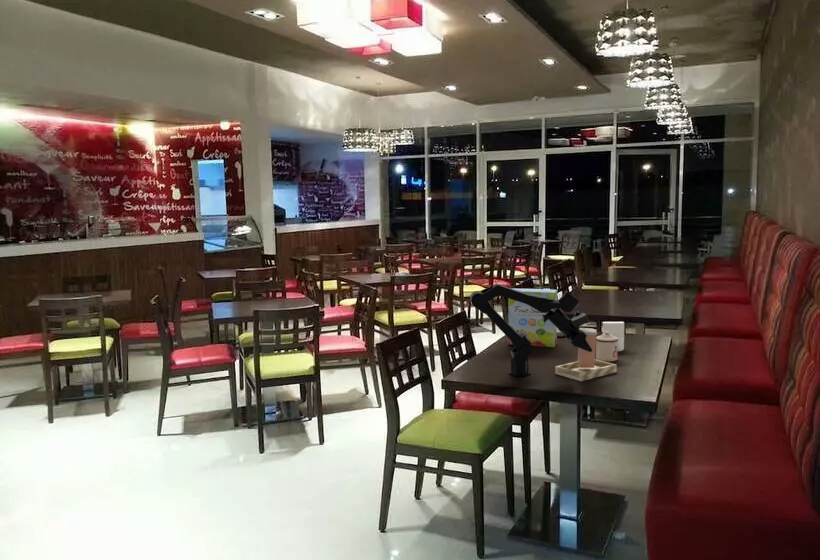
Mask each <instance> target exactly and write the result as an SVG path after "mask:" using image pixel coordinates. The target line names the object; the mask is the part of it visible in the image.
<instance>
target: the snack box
mask: <svg viewBox="0 0 820 560" xmlns="http://www.w3.org/2000/svg"><path fill="white" fill-rule="evenodd" d="M511 289H514V290H517V291H520V292H523V293H526V294H531V295H540V296H545V297H547V298H548V299H552V300H557V301H558V289H550V288H549V289H545V288H544V289H543V288H516V287H515V288H514V287H513V288H511ZM507 303H508V307H507V308H508V315H507V316H508V317H507V318H508V319H507V320H508V322H507V323H508V324H509V325H510V326H511V327H512V328H513V329H514V330H515V332H517V333H518V334H520V335H521V334H522V332H523V334H524V335H525V337H527V338H528V339H530V341H531V342H532V344H531V345H532V347H541V348H542V347H545V348H555V347H556V345H557V339H558V336H557V327H556V326H555V325H554V324H552V323H551V322H550V321H549V320H547V321H546V322H544V321H543V320H542V319H543V316H542V314H546V313H542V312H540V311H538V310H536V309H534V308H533V307H531V306H529V305H527V304H525V303H522V302H519V301H515V300H512V299H509V298H508V302H507ZM551 310H553V309H551ZM507 338H508V337H507ZM507 341H508V343H507V345H512V346H514V345H513V343H512V342H511V340H510V339H509V338H508V340H507Z"/></svg>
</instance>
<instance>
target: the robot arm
mask: <svg viewBox="0 0 820 560" xmlns="http://www.w3.org/2000/svg"><path fill="white" fill-rule="evenodd" d="M499 296H501V297H504V298H507V299H508V300H509V299H512V300H515V301H519V302H522V303H525V304H527V305H529V306H531V307H533V308H534V309H536V310H538V311H540V312H542V313H546V314H542V316H543V319H542V320H543V321H544V322H546V321H547V320H549V321H550V322H551V323H552V324H554V325H555V326H556V327H557V328H558V329H559V330H560V331H561V332H562V333H563V334H564V336H563V337H565V338H566V339H568V340H569V342H570V344H572V345H573V347H575V348H576V347H577V348H581V349H584V350H586V351H589V352H591V351H592V349H591V347H590V346H589V344H588V343H587V341H586V336H587V335H586V334H585V333H584V332H583V331H582V330H578V329H579V328H580V327H581V326H583V325H585V324H589V323H590V320H589V318H588V315H587V314H586V313H584V312H581V313H580V312H579V311H575V312H574V316H573V317H572V318H570V317H569V316H567V315H566V313H569V314H571V312H573V311H574V309H576V308H577V307H578V306H579V305H580V304H581V302H580V301H579V300H578V299H577V298H576V297H575V296H573V295H572V294H571V293H570V292H569V291H567V290H566V291H565V292H564V293H563V295H562V296H561V297H560V298H559V299H557V300H552V299H548V298H547V297H545V296H540V295H531V294H526V293H523V292H520V291H517V290H514V289H511V288H510V287H507V286H505V285H501V284H500V283H494V284H493V285H492V286H489V287H487V288H484V289H482V290H474V291H473V292H472V293H471V294H470V297H469V298H470V302H471V305H472V306H473V307H474V308H475V309H476V310H479V312H481V313H482V314H485V315H486V316H487V318H488V319H490V320H491V321H492V323H493V324H494V325H495V326H496V327H497V328H498V329H499V330H500V331H501V332H502V333H503V334H504V335H505V336H506V337H507V338H509V339H510V340H511V342H512V343H513V345H512V346H514V348H512V349H511V350H510V354H511V357H512V358H510V371H508V372H507V374H509V375H511V376H515V377H518V378H521V377H524V376H528V375H531V374H532V372H530V370H529V369H530V368H529V357H530V356H531V355H532V354H533V351H534V346H532V345H531V344H532V342H531V341H530V339H528V338H527V337H525V335H524V334H523V332H522V334H521V335H520V334H518V333H517V332H515V330H514V329H513V328H512V327H511V326H510V325H509V324H508V322H507V321H506V320H505V319H504V318H503V317H502V316H501V315H500V313H498V311H496V310H495V308H494V307H493V306H492V305H491V303H490V301H492V300H493V299H495V298H496V297H499ZM551 309H553V310H551ZM564 313H565V314H564Z"/></svg>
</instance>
